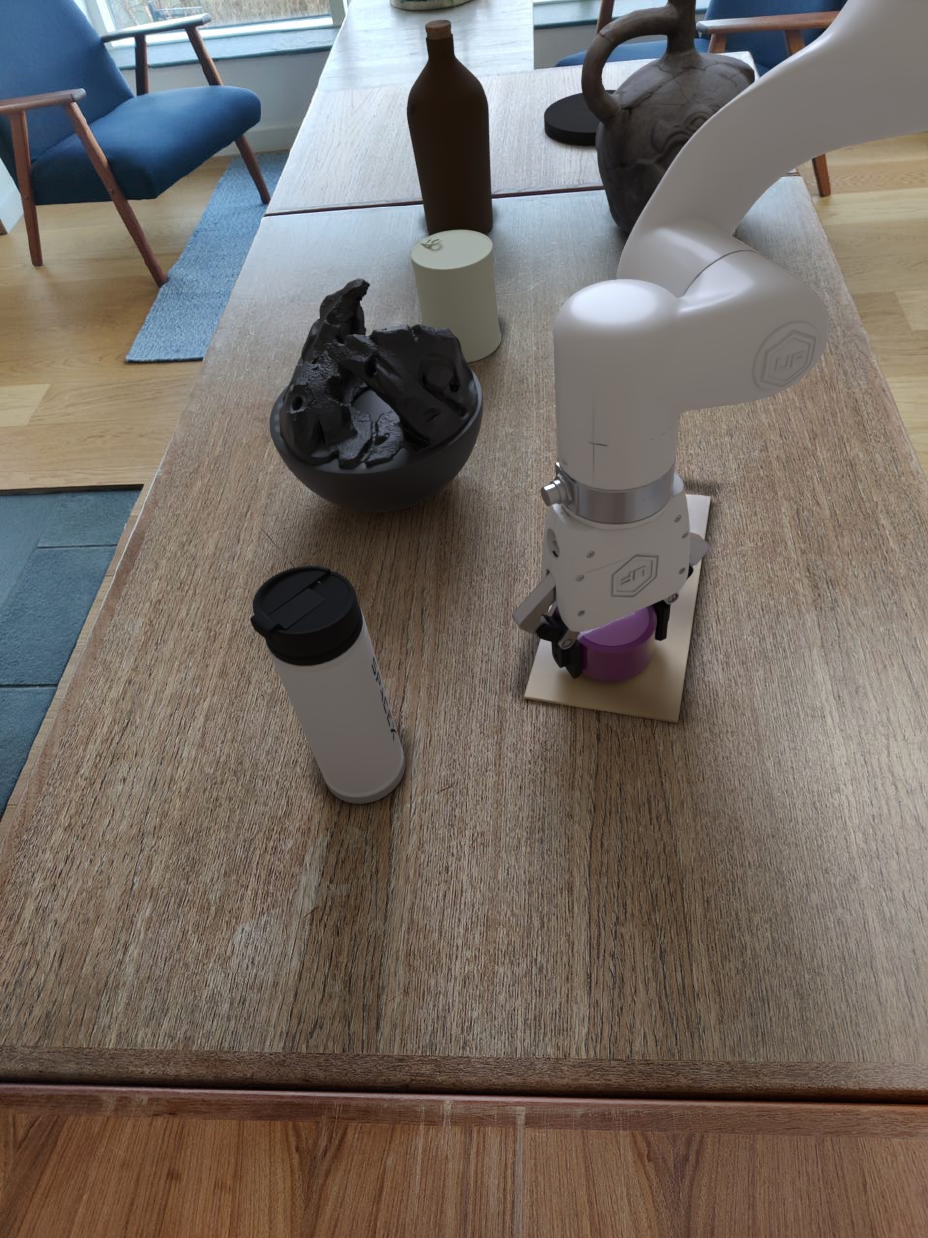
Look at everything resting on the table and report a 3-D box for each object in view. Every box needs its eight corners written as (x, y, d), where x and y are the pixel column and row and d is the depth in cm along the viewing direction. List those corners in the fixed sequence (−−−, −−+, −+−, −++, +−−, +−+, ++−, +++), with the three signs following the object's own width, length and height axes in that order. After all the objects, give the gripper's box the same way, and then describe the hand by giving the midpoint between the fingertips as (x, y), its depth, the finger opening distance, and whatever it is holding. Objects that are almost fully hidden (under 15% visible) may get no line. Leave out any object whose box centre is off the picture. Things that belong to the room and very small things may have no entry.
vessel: (672, 287, 109) (694, 0, 86) (542, 239, 120) (532, -25, 98) (787, 212, 118) (833, -65, 96) (657, 174, 130) (671, -81, 108)
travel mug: (305, 777, 68) (224, 602, 53) (367, 721, 71) (307, 540, 56) (359, 824, 65) (290, 652, 50) (422, 763, 67) (374, 584, 52)
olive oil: (477, 249, 121) (456, 39, 102) (410, 240, 125) (378, 36, 106) (509, 214, 127) (496, 9, 108) (444, 206, 130) (420, 8, 112)
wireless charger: (536, 112, 151) (535, 99, 149) (639, 96, 151) (640, 83, 149) (554, 152, 139) (554, 139, 137) (666, 135, 139) (667, 121, 137)
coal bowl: (449, 573, 80) (420, 399, 66) (260, 537, 86) (196, 370, 72) (517, 440, 92) (505, 268, 78) (346, 415, 98) (306, 252, 84)
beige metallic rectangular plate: (584, 486, 86) (584, 483, 86) (710, 498, 83) (711, 496, 83) (524, 698, 70) (523, 696, 70) (677, 723, 67) (678, 721, 67)
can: (454, 314, 110) (442, 218, 101) (516, 332, 106) (509, 233, 97) (409, 352, 106) (392, 255, 97) (471, 371, 101) (460, 272, 92)
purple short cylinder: (643, 616, 74) (646, 579, 71) (662, 682, 70) (666, 645, 66) (561, 627, 74) (559, 590, 71) (574, 693, 70) (573, 657, 66)
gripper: (523, 557, 54) (536, 723, 67) (762, 461, 57) (729, 637, 71) (471, 488, 59) (493, 656, 72) (695, 403, 62) (676, 578, 75)
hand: (610, 645), depth 71 cm, fingers closed on purple short cylinder, 7 cm apart
